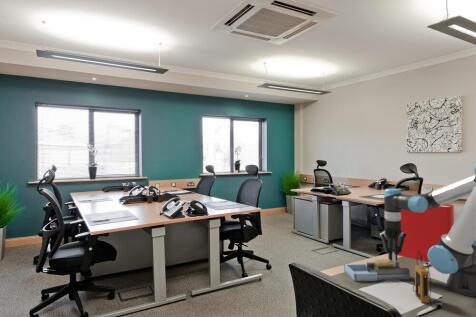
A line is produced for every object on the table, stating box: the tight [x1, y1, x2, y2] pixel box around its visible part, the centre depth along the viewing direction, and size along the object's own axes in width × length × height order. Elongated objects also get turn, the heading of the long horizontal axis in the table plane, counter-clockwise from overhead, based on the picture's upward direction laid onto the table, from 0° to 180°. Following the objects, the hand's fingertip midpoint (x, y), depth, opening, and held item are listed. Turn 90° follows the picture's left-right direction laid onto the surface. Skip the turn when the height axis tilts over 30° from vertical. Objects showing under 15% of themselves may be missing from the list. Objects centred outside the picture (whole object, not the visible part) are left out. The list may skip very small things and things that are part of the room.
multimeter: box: [412, 250, 447, 309], centre depth 127 cm, size 15×10×20 cm
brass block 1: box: [373, 259, 386, 269], centre depth 153 cm, size 4×4×4 cm
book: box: [397, 203, 455, 263], centre depth 176 cm, size 27×8×32 cm, turn 42°
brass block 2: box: [382, 258, 394, 269], centre depth 154 cm, size 4×4×4 cm
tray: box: [343, 263, 378, 282], centre depth 153 cm, size 13×11×4 cm
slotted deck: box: [366, 261, 411, 281], centre depth 154 cm, size 12×16×4 cm
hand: (392, 266), depth 154 cm, fingers closed
